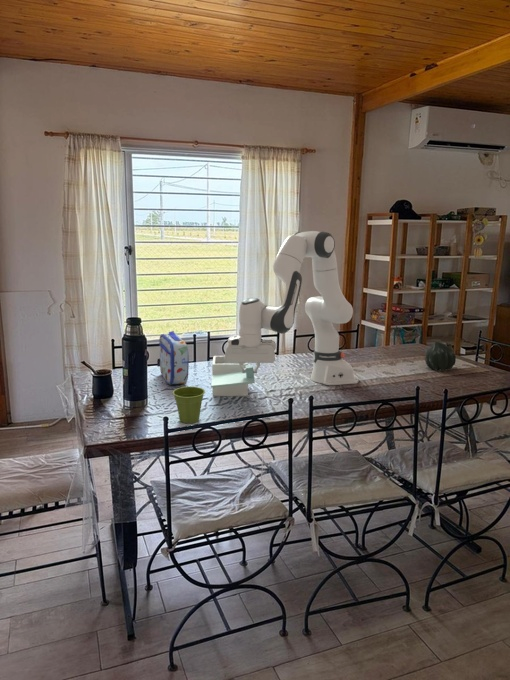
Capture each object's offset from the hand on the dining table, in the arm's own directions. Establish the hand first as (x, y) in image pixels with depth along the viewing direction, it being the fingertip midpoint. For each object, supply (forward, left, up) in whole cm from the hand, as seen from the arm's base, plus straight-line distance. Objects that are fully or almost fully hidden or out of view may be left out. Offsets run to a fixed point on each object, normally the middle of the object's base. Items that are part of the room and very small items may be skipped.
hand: (249, 373), depth 202 cm
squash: (-99, -50, -13) cm, 112 cm away
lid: (+8, 0, -3) cm, 8 cm away
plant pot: (+23, +17, -13) cm, 31 cm away
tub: (+8, -17, -13) cm, 23 cm away
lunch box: (+35, -34, -13) cm, 51 cm away
